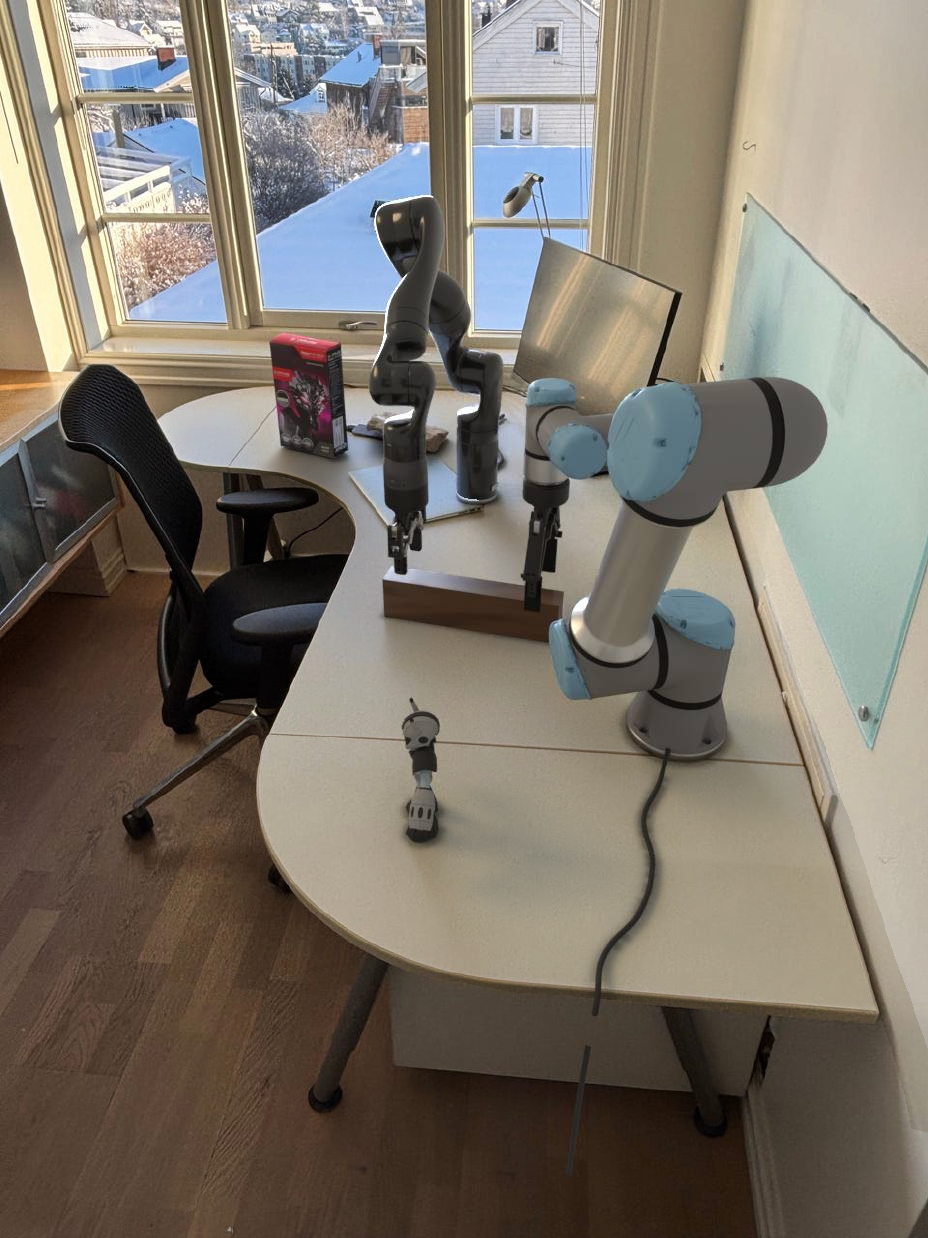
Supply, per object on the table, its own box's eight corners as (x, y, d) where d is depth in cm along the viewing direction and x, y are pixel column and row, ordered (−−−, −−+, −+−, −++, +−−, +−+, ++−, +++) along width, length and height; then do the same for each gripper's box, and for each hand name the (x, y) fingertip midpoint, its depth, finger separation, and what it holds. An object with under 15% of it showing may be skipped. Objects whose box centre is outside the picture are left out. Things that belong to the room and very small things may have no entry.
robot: (442, 875, 119) (441, 760, 108) (404, 877, 119) (400, 761, 107) (438, 770, 135) (437, 660, 124) (405, 771, 135) (401, 661, 124)
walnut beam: (556, 644, 162) (558, 606, 158) (384, 616, 169) (382, 579, 165) (561, 628, 166) (564, 591, 162) (392, 602, 173) (391, 565, 169)
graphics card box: (278, 447, 232) (266, 338, 217) (294, 437, 237) (284, 331, 222) (334, 460, 225) (326, 350, 210) (350, 450, 230) (343, 341, 215)
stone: (350, 435, 230) (355, 412, 228) (372, 427, 244) (376, 405, 241) (428, 460, 227) (434, 436, 224) (446, 450, 240) (451, 427, 238)
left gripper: (414, 499, 148) (416, 585, 158) (439, 463, 160) (440, 545, 169) (370, 494, 150) (375, 578, 159) (398, 458, 161) (401, 539, 171)
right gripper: (555, 513, 137) (547, 631, 149) (582, 450, 157) (573, 558, 169) (506, 507, 139) (502, 624, 150) (539, 445, 159) (533, 553, 170)
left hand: (408, 561), depth 164 cm, fingers open, 8 cm apart
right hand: (540, 590), depth 160 cm, fingers open, 13 cm apart
